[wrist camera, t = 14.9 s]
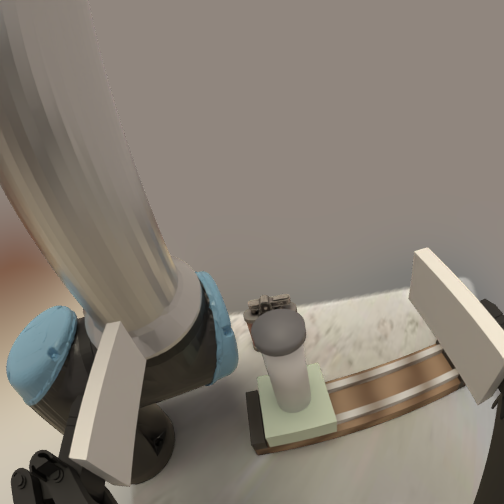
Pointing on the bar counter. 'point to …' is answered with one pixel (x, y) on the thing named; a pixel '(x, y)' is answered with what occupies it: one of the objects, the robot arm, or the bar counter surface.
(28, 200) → the robot arm
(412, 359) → the rail track
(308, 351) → the bar counter surface
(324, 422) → the carriage
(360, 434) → the bar counter surface
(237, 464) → the bar counter surface
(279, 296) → the lighter
